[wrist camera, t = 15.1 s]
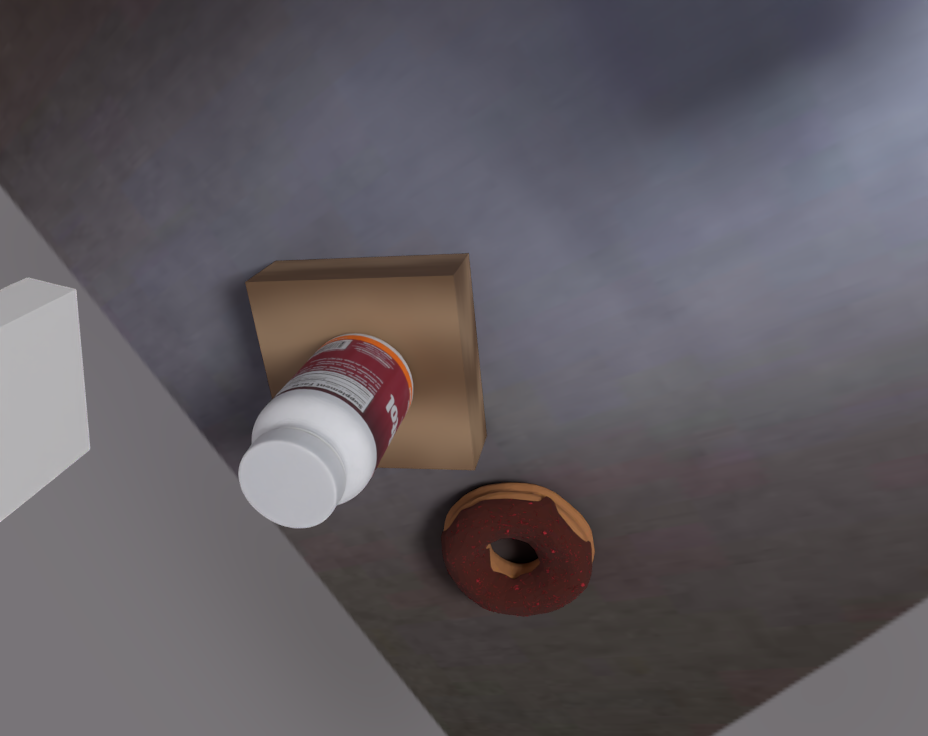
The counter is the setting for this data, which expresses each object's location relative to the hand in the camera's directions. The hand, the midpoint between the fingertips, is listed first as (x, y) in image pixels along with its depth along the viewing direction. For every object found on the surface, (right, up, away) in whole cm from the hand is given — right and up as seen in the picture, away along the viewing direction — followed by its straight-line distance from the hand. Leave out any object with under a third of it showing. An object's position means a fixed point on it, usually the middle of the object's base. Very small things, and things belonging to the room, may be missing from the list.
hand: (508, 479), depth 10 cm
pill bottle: (-6, +1, +33) cm, 33 cm away
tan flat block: (-6, +3, +36) cm, 36 cm away
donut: (+3, -10, +40) cm, 42 cm away
